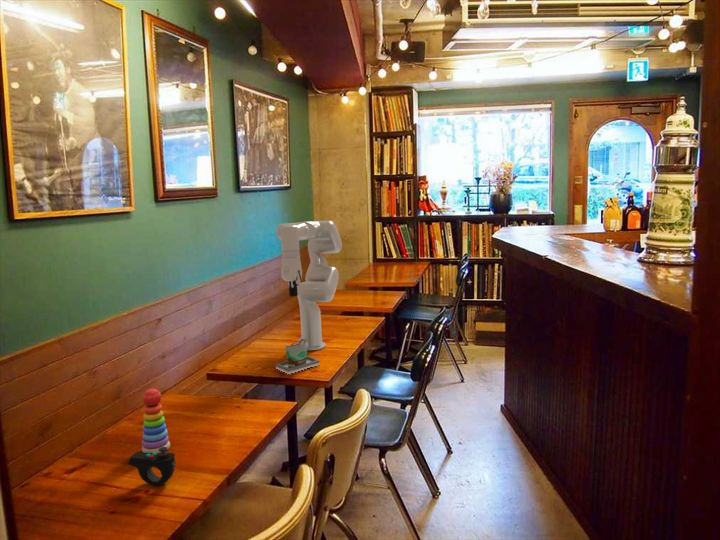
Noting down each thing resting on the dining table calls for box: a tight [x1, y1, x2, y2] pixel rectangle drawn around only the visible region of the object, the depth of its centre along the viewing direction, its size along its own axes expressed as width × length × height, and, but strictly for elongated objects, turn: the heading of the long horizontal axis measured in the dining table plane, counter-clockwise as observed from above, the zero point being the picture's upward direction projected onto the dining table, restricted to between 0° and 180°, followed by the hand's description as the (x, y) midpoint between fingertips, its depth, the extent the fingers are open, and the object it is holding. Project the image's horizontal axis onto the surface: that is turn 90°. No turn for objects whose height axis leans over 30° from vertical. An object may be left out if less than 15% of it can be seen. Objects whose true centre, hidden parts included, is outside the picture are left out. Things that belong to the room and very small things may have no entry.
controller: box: [128, 447, 177, 486], centre depth 144 cm, size 4×12×10 cm, turn 80°
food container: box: [284, 338, 308, 368], centre depth 230 cm, size 12×6×10 cm, turn 151°
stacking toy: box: [141, 388, 171, 453], centre depth 162 cm, size 8×8×19 cm
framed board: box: [275, 355, 321, 375], centre depth 232 cm, size 10×16×2 cm, turn 129°
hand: (293, 295), depth 237 cm, fingers closed
